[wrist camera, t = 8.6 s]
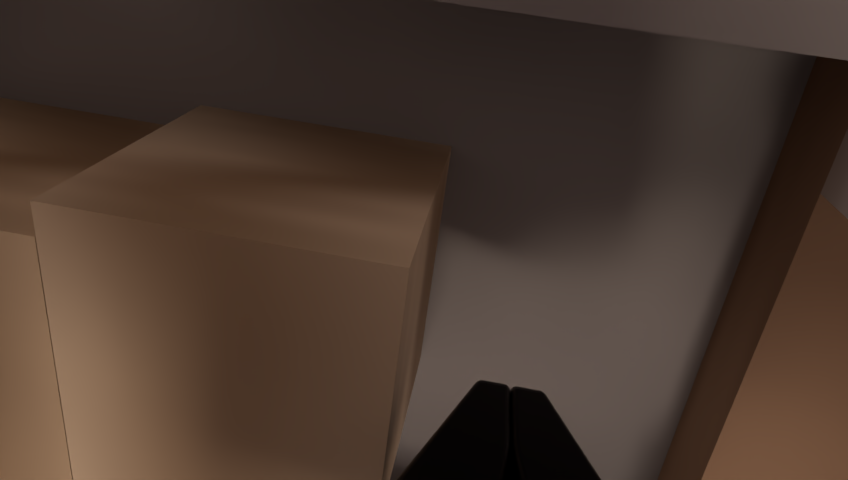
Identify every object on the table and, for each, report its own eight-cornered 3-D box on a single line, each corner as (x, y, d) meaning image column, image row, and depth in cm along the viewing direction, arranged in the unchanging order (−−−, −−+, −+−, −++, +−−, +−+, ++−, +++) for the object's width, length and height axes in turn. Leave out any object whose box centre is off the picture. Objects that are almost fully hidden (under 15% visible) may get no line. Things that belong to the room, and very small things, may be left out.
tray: (834, -34, 9) (965, -15, 6) (624, 536, 14) (647, 684, 11) (-165, -168, 10) (-421, -201, 7) (-29, 405, 15) (-152, 511, 12)
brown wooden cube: (451, 146, 10) (408, 268, 7) (420, 358, 12) (373, 544, 8) (200, 104, 10) (29, 200, 7) (207, 317, 12) (73, 481, 9)
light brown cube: (200, 131, 11) (34, 236, 7) (206, 337, 12) (76, 504, 9) (-33, 92, 11) (-305, 174, 7) (5, 298, 13) (-199, 446, 9)
